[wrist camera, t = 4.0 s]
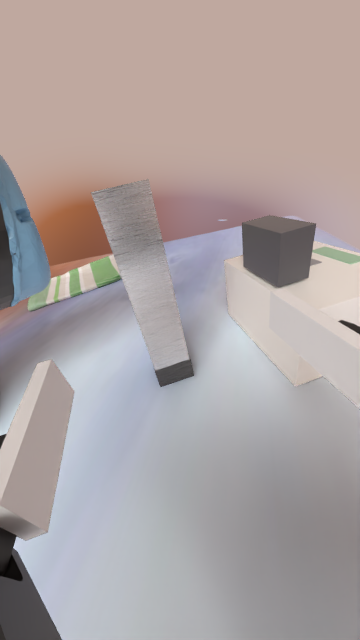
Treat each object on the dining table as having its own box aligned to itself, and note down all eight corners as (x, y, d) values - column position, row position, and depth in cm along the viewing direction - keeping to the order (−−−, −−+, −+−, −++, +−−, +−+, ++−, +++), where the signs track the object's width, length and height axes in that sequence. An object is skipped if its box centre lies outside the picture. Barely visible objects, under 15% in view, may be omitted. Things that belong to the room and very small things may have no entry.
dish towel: (38, 287, 61) (33, 277, 59) (120, 260, 67) (117, 252, 65) (31, 314, 46) (23, 303, 45) (136, 277, 52) (132, 266, 51)
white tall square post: (160, 387, 23) (90, 192, 13) (155, 363, 26) (94, 191, 16) (193, 375, 24) (149, 178, 14) (184, 353, 27) (142, 180, 17)
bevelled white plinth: (295, 386, 20) (306, 312, 16) (228, 314, 32) (223, 259, 27) (396, 349, 21) (432, 271, 17) (296, 292, 33) (302, 237, 29)
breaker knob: (277, 287, 19) (280, 233, 17) (243, 266, 24) (242, 222, 22) (308, 277, 19) (316, 223, 17) (268, 259, 24) (269, 215, 22)
